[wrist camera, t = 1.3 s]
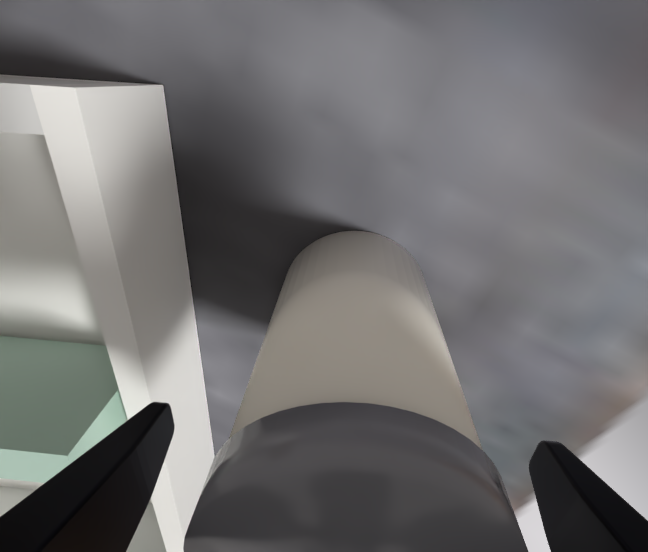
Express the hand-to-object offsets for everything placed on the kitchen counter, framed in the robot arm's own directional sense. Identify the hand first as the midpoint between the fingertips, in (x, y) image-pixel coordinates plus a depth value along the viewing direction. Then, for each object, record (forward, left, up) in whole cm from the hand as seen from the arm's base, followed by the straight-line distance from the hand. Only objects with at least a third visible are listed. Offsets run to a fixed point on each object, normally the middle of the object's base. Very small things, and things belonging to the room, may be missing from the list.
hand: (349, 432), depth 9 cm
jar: (0, 0, -6) cm, 6 cm away
